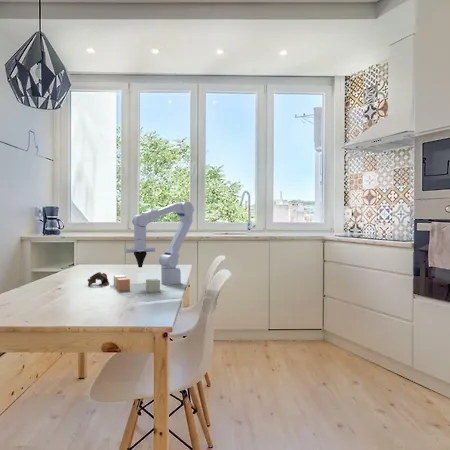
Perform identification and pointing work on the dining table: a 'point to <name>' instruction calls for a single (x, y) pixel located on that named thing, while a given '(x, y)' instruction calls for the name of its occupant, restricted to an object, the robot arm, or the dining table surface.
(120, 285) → the terracotta cube
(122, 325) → the dining table surface
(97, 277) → the dark brown arched piece
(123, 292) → the board
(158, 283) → the sage cube
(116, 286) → the cream cube
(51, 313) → the dining table surface
